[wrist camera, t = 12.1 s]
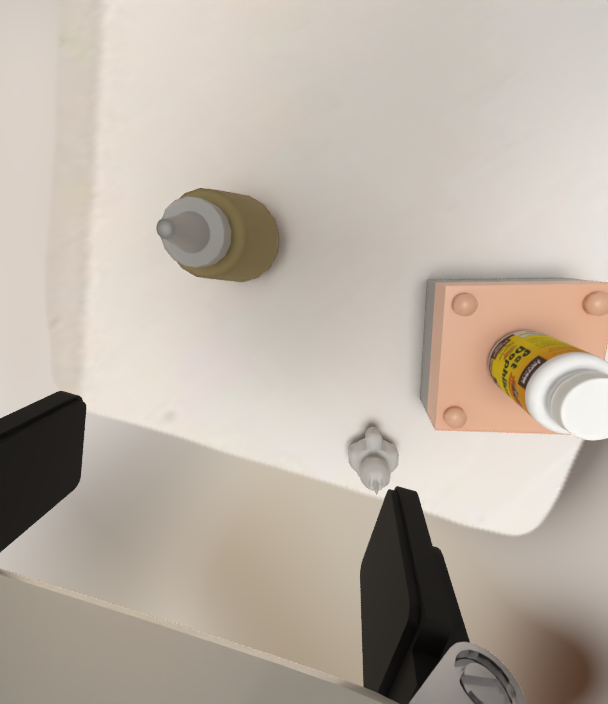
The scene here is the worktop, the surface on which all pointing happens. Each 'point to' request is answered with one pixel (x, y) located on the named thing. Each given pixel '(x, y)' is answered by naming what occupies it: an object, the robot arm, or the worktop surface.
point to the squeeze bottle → (220, 235)
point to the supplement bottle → (553, 383)
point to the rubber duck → (373, 459)
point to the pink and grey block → (486, 331)
